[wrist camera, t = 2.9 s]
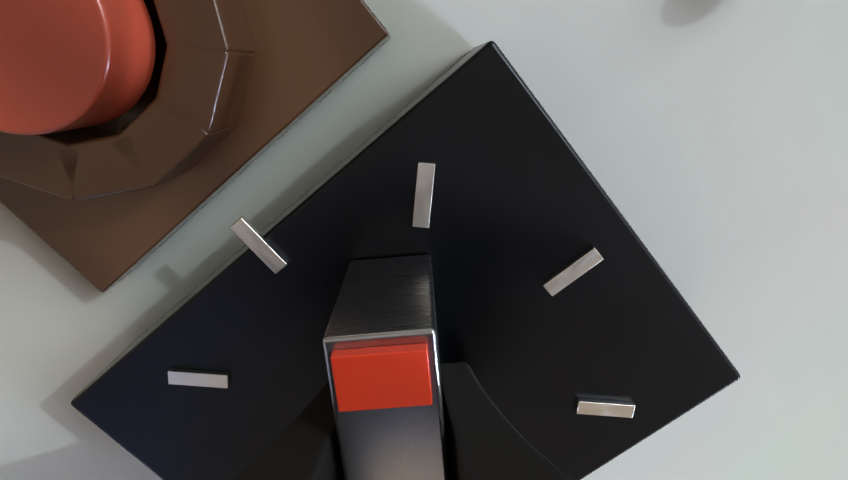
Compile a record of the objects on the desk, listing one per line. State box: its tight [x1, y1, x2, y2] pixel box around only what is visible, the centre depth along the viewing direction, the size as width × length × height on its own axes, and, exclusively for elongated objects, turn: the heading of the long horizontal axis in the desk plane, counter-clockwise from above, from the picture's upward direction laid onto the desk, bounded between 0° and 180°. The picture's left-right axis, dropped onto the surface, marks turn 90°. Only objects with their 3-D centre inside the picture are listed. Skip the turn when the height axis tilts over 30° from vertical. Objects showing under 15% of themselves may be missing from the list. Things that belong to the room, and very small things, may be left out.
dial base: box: [71, 41, 740, 480], centre depth 14 cm, size 13×11×3 cm
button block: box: [0, 0, 391, 292], centre depth 12 cm, size 10×8×3 cm
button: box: [0, 0, 156, 135], centre depth 10 cm, size 4×4×2 cm
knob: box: [322, 255, 449, 480], centre depth 11 cm, size 7×2×4 cm, turn 5°
